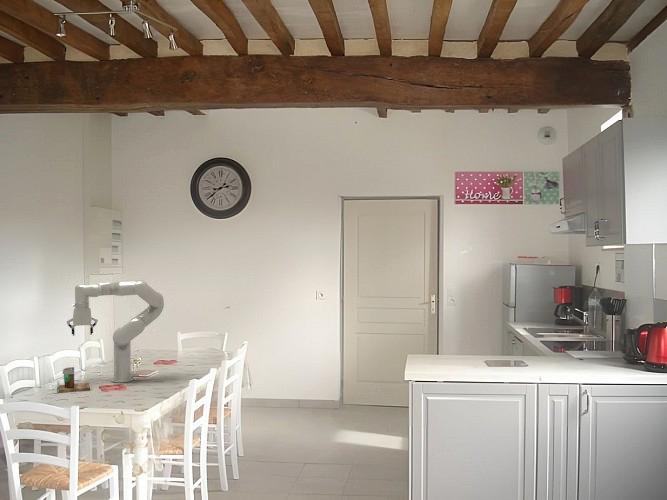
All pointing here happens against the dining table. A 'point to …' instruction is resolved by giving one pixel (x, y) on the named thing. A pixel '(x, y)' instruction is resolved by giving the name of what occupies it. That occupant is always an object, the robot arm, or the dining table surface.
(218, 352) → the dining table surface
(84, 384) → the shelf board
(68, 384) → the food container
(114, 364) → the robot arm
